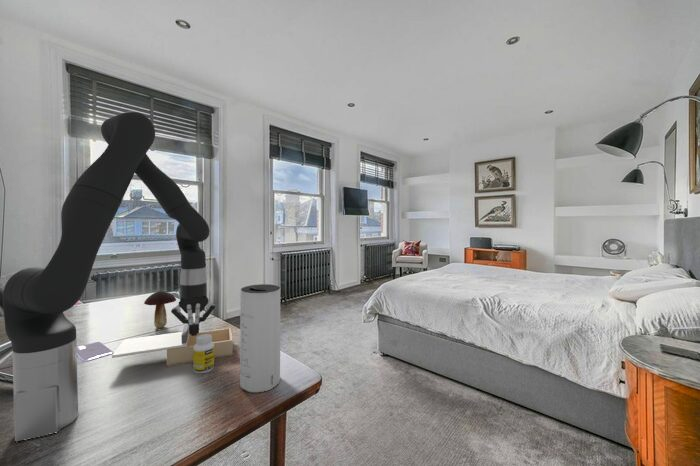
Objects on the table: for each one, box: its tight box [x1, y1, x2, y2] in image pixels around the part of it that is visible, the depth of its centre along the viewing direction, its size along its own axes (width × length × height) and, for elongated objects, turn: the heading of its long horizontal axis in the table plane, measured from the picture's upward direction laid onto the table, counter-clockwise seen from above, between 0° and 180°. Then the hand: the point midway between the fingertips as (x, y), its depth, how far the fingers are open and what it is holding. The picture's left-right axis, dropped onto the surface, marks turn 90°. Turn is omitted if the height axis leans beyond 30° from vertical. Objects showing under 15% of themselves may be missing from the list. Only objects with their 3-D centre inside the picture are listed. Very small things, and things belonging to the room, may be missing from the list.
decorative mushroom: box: [143, 290, 177, 329], centre depth 116 cm, size 11×11×15 cm
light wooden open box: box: [166, 327, 234, 368], centre depth 94 cm, size 12×18×5 cm, turn 115°
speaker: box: [239, 283, 281, 394], centre depth 77 cm, size 11×10×26 cm
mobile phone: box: [77, 341, 114, 363], centre depth 95 cm, size 8×1×15 cm
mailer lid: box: [111, 324, 189, 359], centre depth 89 cm, size 12×18×3 cm, turn 115°
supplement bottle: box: [192, 334, 215, 374], centre depth 84 cm, size 5×5×10 cm
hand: (194, 334), depth 93 cm, fingers closed
